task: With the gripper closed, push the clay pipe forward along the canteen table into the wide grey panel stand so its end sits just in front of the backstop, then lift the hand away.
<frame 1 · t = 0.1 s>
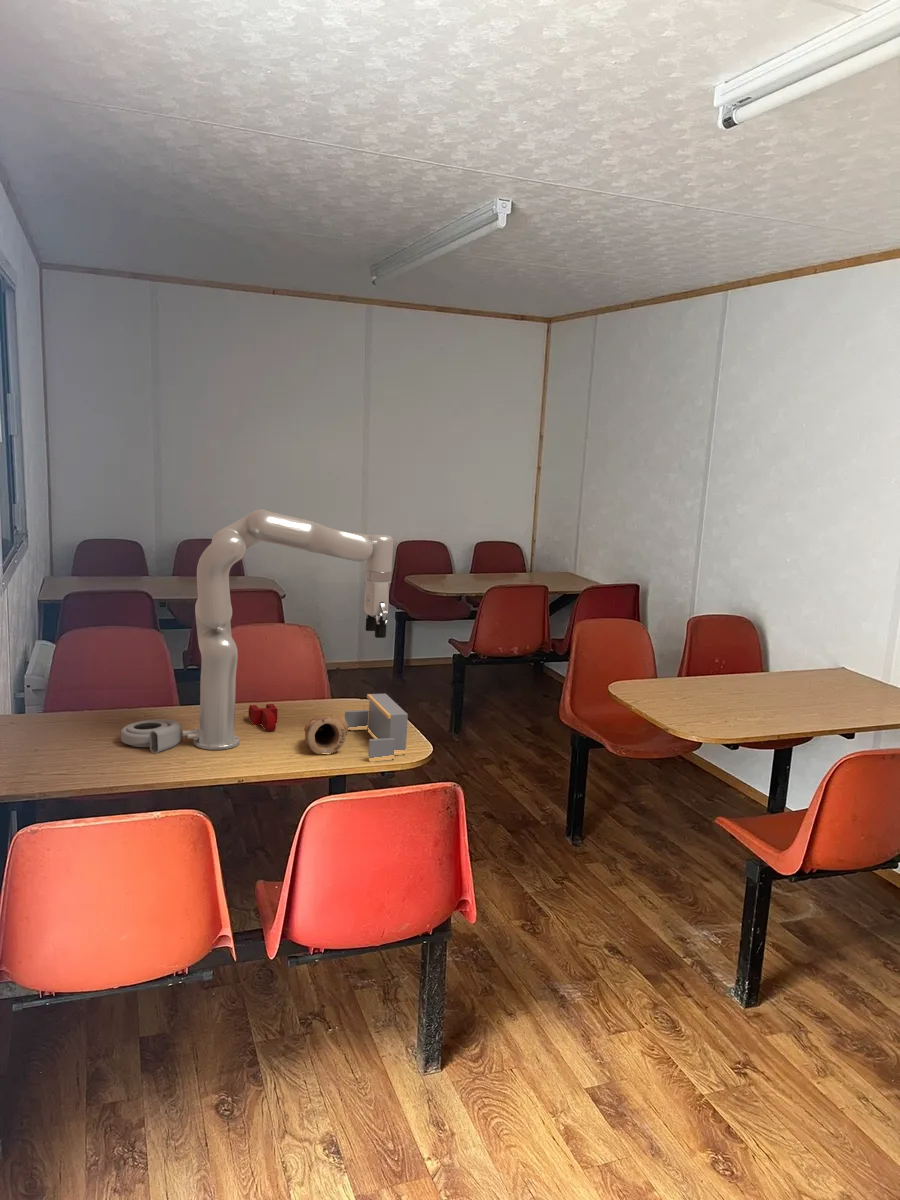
hand: (375, 634, 257), 31 cm above the table, tool pointing down, fingers open, 9 cm apart
clay pipe: (327, 747, 249), on the table
turbocharger housing: (152, 743, 243), on the table
mechanical linkage: (265, 726, 265), on the table
grey panel stand: (385, 743, 256), on the table
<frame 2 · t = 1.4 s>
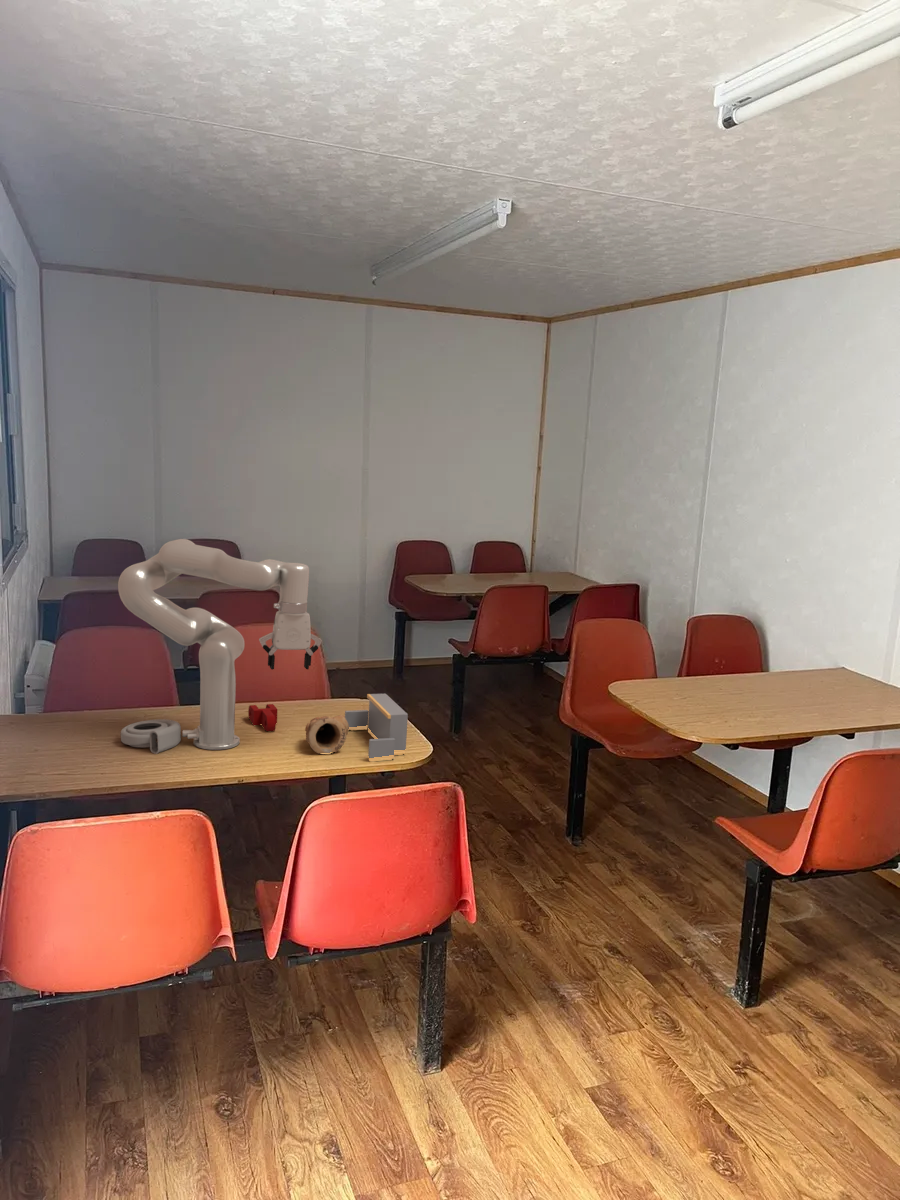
hand: (289, 668, 242), 23 cm above the table, tool pointing down, fingers open, 9 cm apart
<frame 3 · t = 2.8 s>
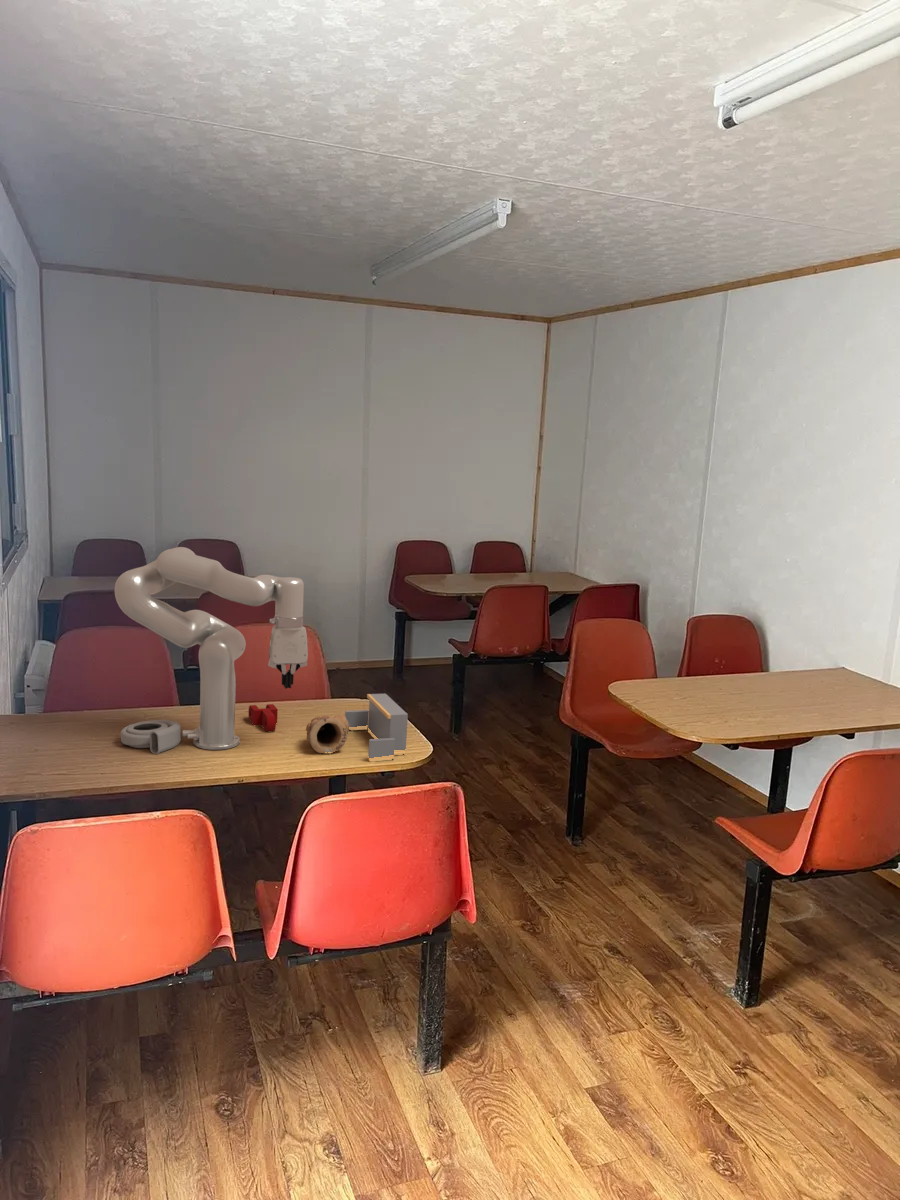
hand: (287, 687, 242), 18 cm above the table, tool pointing down, fingers closed
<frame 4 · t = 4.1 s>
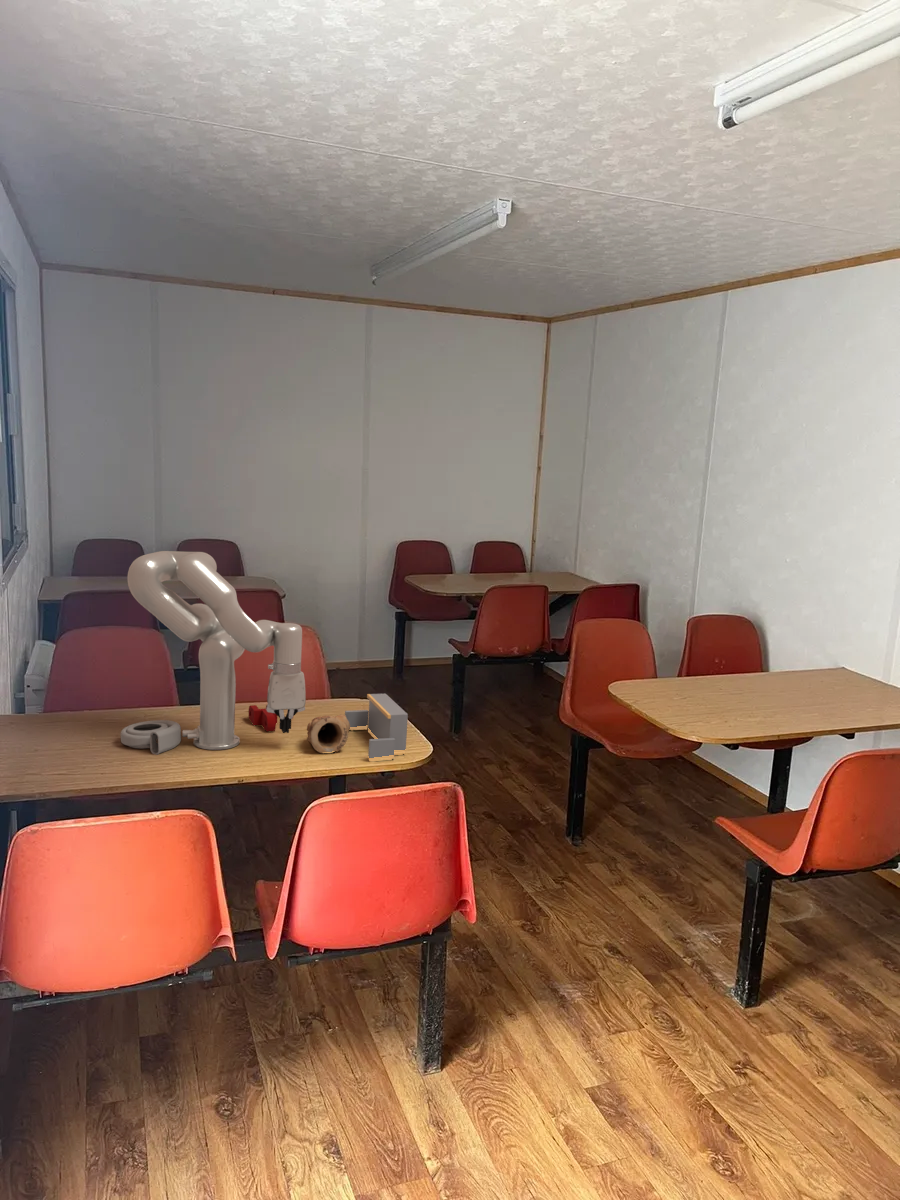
hand: (285, 731, 244), 5 cm above the table, tool pointing down, fingers closed
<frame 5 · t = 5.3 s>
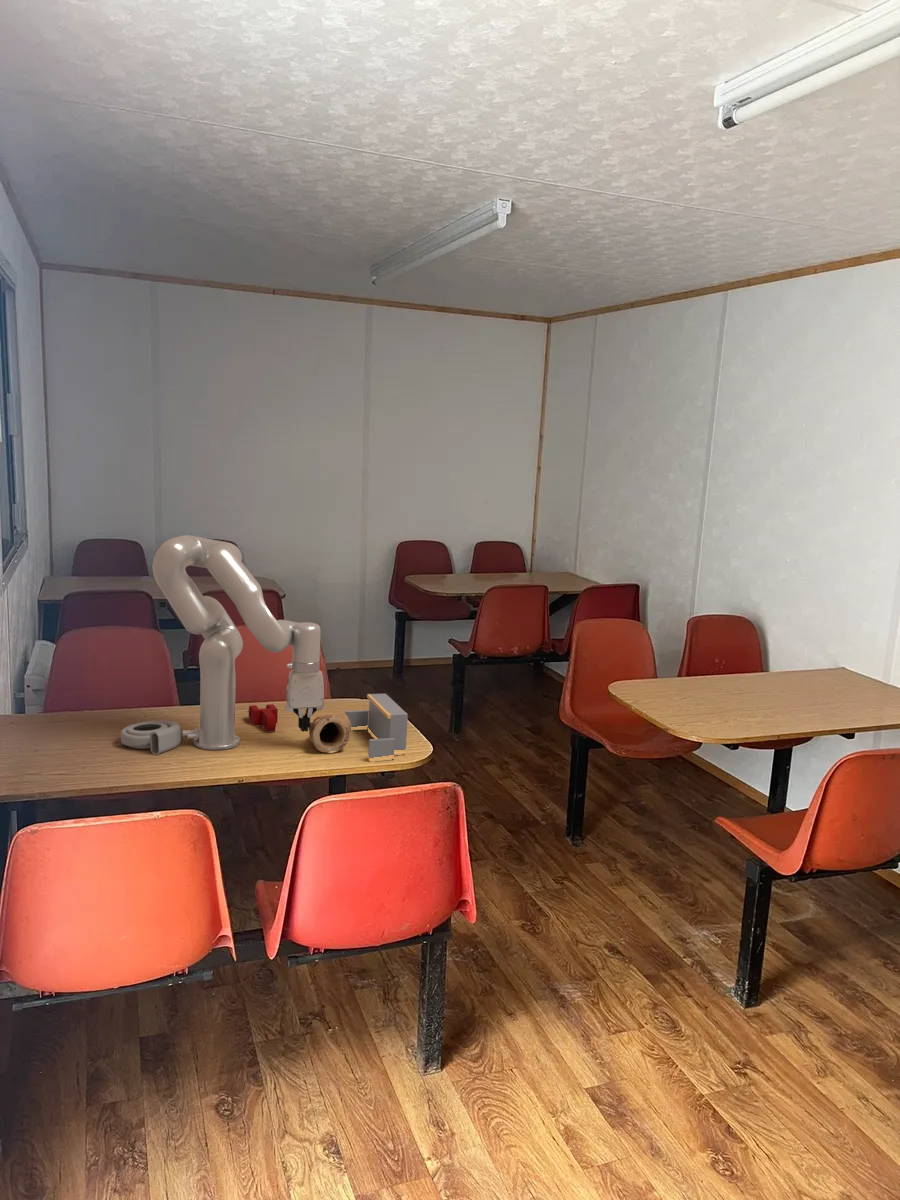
hand: (303, 730, 246), 5 cm above the table, tool pointing down, fingers closed
clay pipe: (331, 746, 251), on the table, touching gripper
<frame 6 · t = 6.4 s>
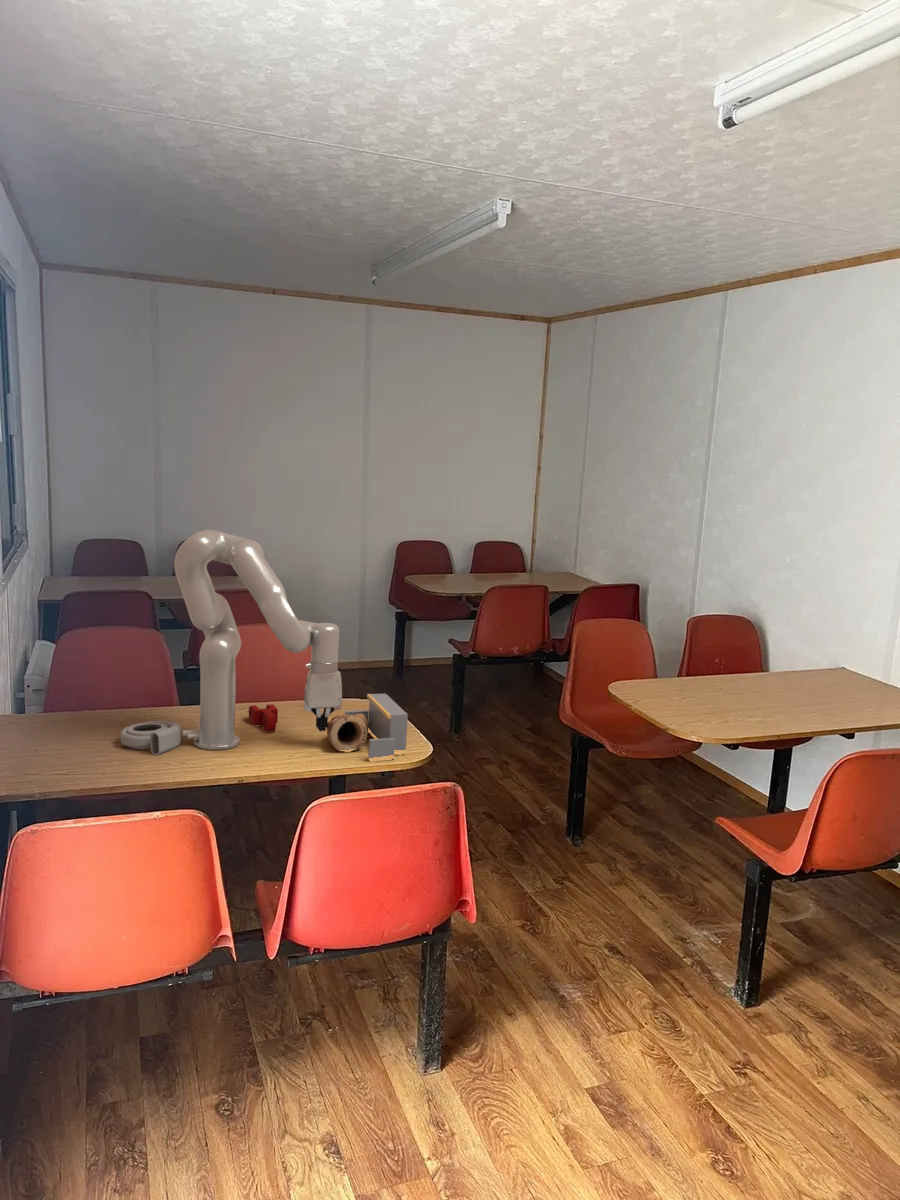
hand: (321, 729, 248), 5 cm above the table, tool pointing down, fingers closed
clay pipe: (348, 745, 253), on the table
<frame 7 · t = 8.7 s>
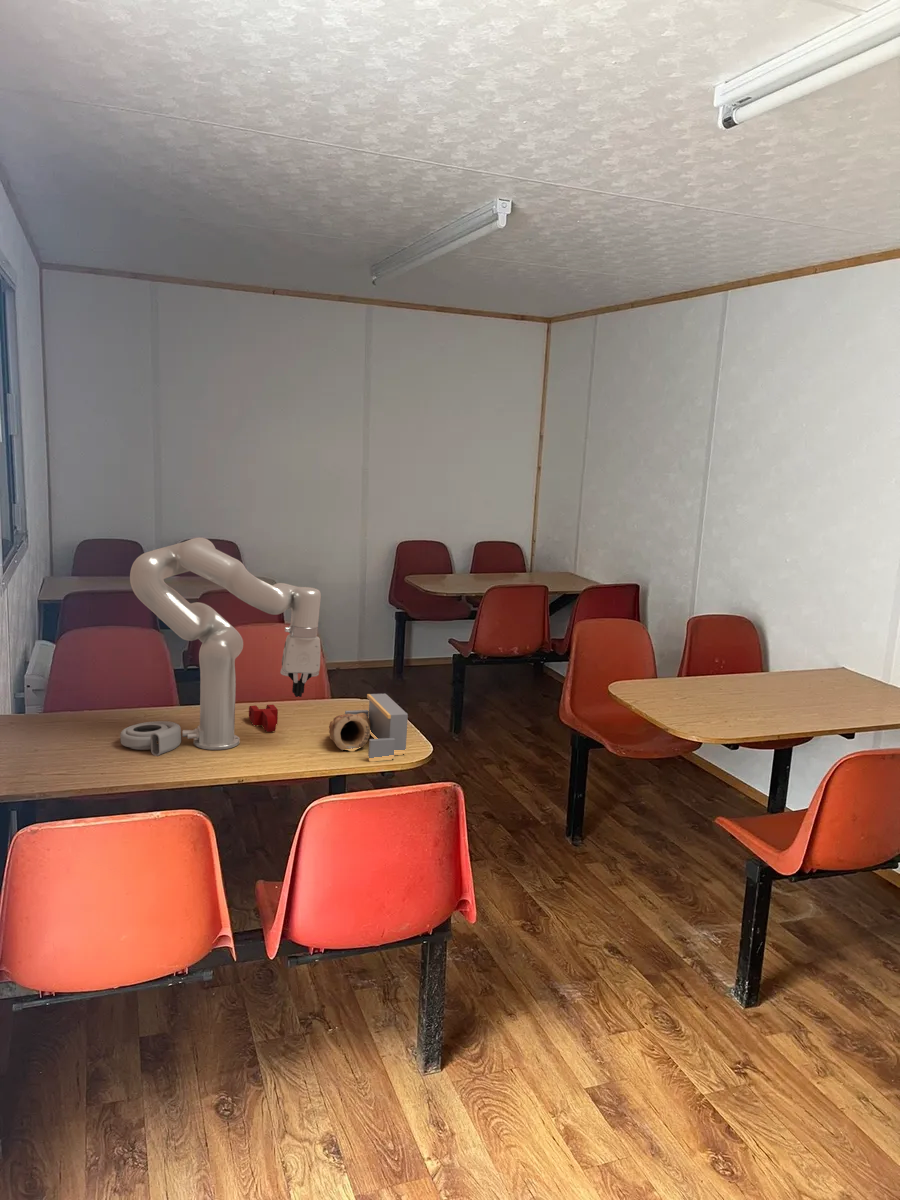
hand: (297, 695, 244), 15 cm above the table, tool pointing down, fingers closed
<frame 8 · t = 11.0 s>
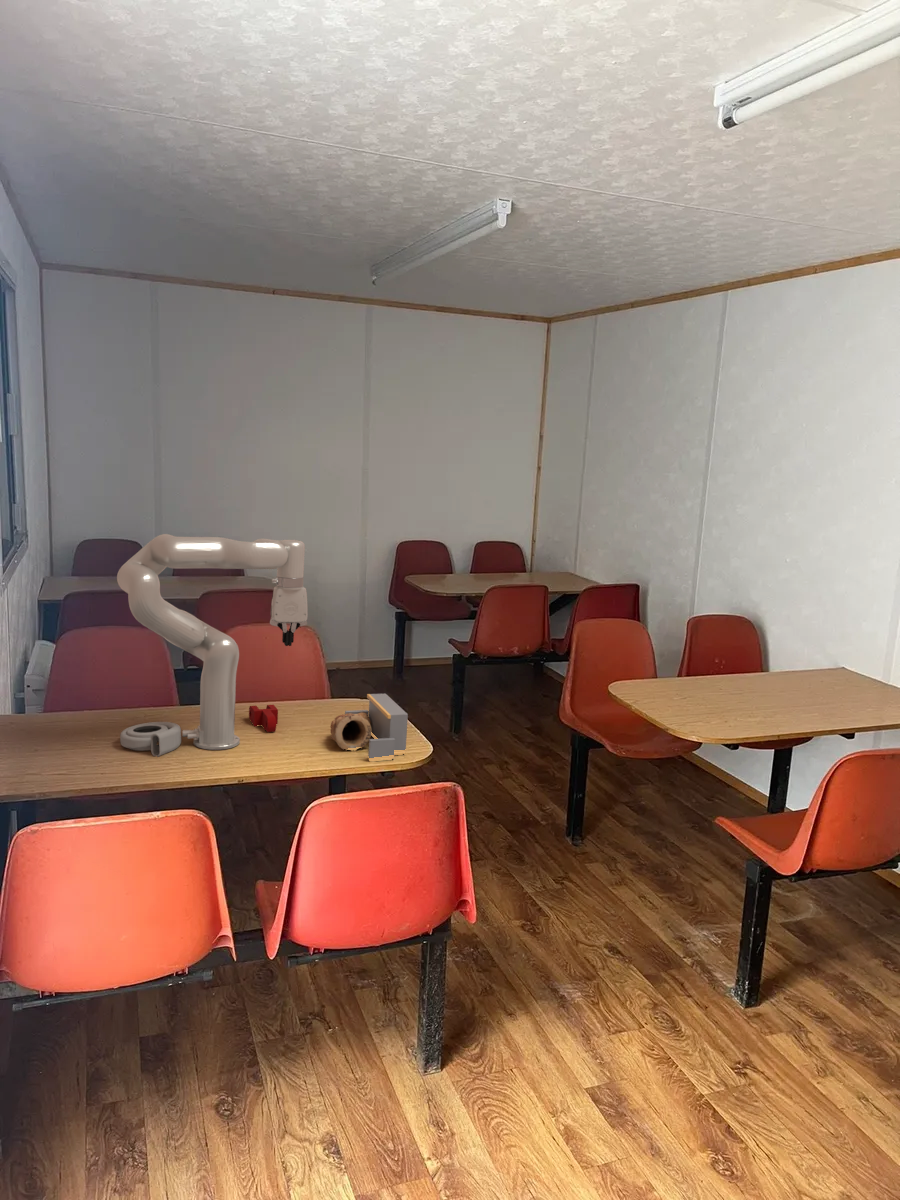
hand: (287, 644, 253), 27 cm above the table, tool pointing down, fingers closed
at the end: clay pipe inside the target area on the grey panel stand (2.1 cm from its centre), point 0.0 cm above the grey panel stand's base; clay pipe moved 8.3 cm from its start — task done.
